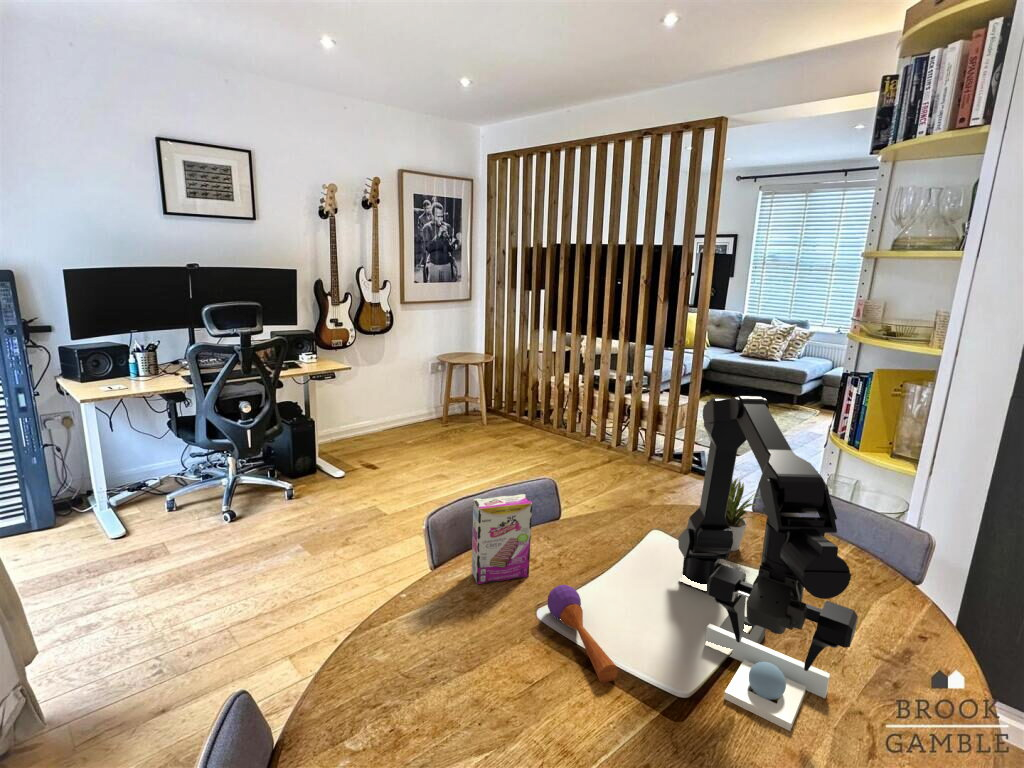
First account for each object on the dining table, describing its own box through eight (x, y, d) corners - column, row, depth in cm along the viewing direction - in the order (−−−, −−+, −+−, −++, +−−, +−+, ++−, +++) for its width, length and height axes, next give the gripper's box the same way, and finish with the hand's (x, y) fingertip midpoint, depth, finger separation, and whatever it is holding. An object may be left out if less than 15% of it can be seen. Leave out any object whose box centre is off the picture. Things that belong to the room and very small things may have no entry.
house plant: (687, 526, 137) (693, 463, 133) (746, 531, 135) (753, 467, 131) (698, 555, 123) (705, 485, 119) (763, 561, 121) (772, 490, 118)
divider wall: (705, 645, 93) (706, 626, 92) (707, 641, 94) (709, 623, 93) (825, 698, 82) (828, 678, 81) (826, 693, 83) (830, 673, 82)
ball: (742, 696, 82) (746, 667, 81) (752, 678, 86) (756, 649, 85) (778, 713, 79) (782, 683, 78) (787, 693, 83) (791, 664, 82)
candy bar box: (477, 586, 109) (478, 508, 105) (471, 573, 113) (471, 498, 110) (530, 577, 112) (533, 502, 109) (522, 565, 117) (524, 492, 114)
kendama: (589, 665, 82) (540, 584, 101) (592, 695, 84) (544, 610, 103) (624, 652, 84) (570, 574, 102) (627, 681, 86) (573, 600, 104)
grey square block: (718, 637, 95) (719, 627, 95) (730, 620, 100) (731, 610, 99) (754, 652, 92) (756, 642, 91) (765, 635, 96) (766, 624, 96)
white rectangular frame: (724, 698, 82) (724, 691, 81) (743, 666, 88) (744, 659, 88) (790, 731, 76) (791, 723, 76) (805, 693, 83) (806, 686, 83)
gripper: (697, 556, 77) (687, 654, 80) (852, 609, 66) (833, 722, 69) (724, 528, 85) (714, 618, 89) (865, 571, 74) (848, 673, 77)
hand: (771, 654), depth 81 cm, fingers open, 9 cm apart
